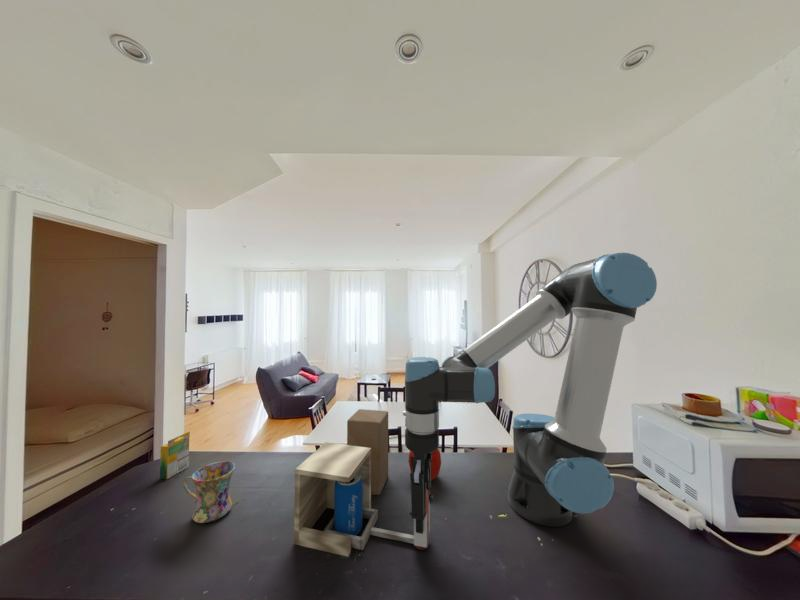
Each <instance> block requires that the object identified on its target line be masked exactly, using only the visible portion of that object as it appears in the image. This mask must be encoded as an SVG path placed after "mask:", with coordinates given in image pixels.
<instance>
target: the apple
mask: <svg viewBox="0 0 800 600" xmlns="http://www.w3.org/2000/svg"><path fill="white" fill-rule="evenodd" d="M431 453H432V459H431V482H432V481H434V479H436V478H437V477H438V476H439V474H440V471H441V467H442V455H441V452H440V450H439V447H438V448H437V450H435V451H434V452H431ZM412 456H413V457H414V453H413V452H412V451H411V450H409V454H408V465H409V468H410V473H411V472H412V468H413V467H412V464H411V463H412Z"/></svg>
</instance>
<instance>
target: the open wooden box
mask: <svg viewBox="0 0 800 600" xmlns="http://www.w3.org/2000/svg"><path fill="white" fill-rule="evenodd" d="M356 472H358V473H360V475H361V478H362V481H363V498H362V507H365V508H371V509H372V494H371V448H367V447H359V446H351V445H347V444H344V443H343V444H342V443H336V442H335V443H334V442H324V443H323V444H322V445H321V446H320V447H318V448H317V449H316V450H315V451H314V452H313V453H312V454H311V455H309V456H308V457H307V458H306V459H305V460H304V461H303V462H301V463H300V464H299V465H298V466H297V467H295V468H294V509H293V511H294V513H293V515H294V517H293V518H294V519H293V522H294V523H293V545H297V546H301V547H304V548H310V549H314V550H317V551H322V552H327V553H331V554H335V555H338V556H339V555H340V556H343V557H347V558H348V557H350V555H351V551H352V548H351V537H347V536H343V535H338V534H333V533H329V532H324V530H318V529H314V528H313V527H314V525H315V524H316V522H317V521H318V520H319V519H320V517H321V516H322V515H323V513H324V512H325V510H326V509H332V510H334V508H335V482H336V480H337V481H343V482H350V480H351V479H352V478H353V476H354V475H355V473H356Z"/></svg>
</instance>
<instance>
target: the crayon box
mask: <svg viewBox="0 0 800 600" xmlns="http://www.w3.org/2000/svg"><path fill="white" fill-rule="evenodd" d="M190 433H191V432H190V431H187V432H185V433H183V434H181V435H179V436H176V437H174V438H171V439H169V440H167V443H166V444H163V445H161V446H160V452H159V453H160V455H159V457H160V461H159V463H160V464H159V479H160V480H169V479H170V478H172V477H174V476H175V475H177V474H179V473H181V472H182V471H184V470H186V469H188V468H190V467H189V465H190Z"/></svg>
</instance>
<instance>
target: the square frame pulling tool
mask: <svg viewBox="0 0 800 600" xmlns="http://www.w3.org/2000/svg"><path fill="white" fill-rule="evenodd" d="M429 501H430V500H429V492H428V490H427V489H426V513H427V548H429V545H430V536H429V535H430V532H429ZM362 519H367V520H368V522H367V524H366V526H365V529H364V530H363V532H362V534H361V536H358V535H350V534H345V533H341V532H336V531H335V530H334V515H333V516H332V518H331V519H330V521H329V522H328V524H326V526H325V528H323V531H324V532H329V533H333V534H338V535H343V536H347V537H351V549H355V550H361V551H364V549H365V548H366V545H367V543H368V541H369V539H370V536H374V537H379V538H384V539H389V540H394V541H398V542H403V543H408V544H413V545H414V534H409V533H404V532H398V531H394V530H389V529H384V528H380V527H379V528H377V527H375V525H376V524H377V521H378V519H379V510H378V509H376V508H372V507H371V508H365V507H362ZM414 547H415V548H416V549H417V550H422V551H423V550H426V549H427V548H425V547H421V546H416V545H414Z"/></svg>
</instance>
